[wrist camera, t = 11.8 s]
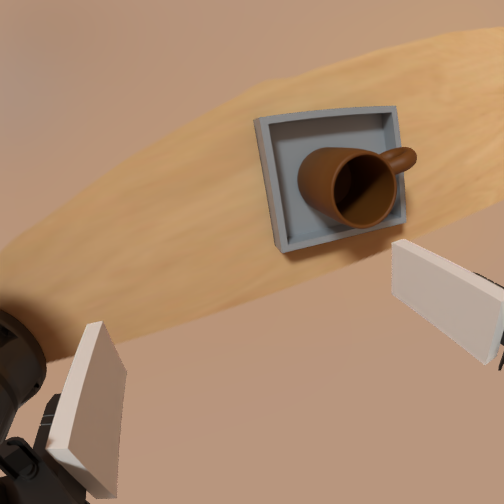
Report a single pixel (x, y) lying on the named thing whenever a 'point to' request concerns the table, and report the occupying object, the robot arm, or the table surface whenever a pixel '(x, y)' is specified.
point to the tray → (302, 144)
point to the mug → (353, 183)
